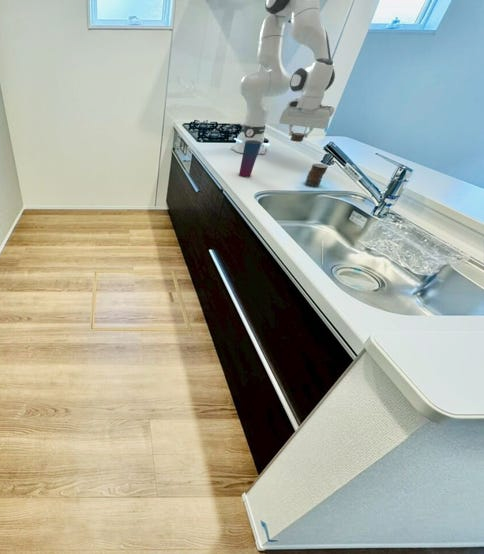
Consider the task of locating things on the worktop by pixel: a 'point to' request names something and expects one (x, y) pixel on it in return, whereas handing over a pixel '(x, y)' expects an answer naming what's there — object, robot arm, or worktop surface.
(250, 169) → the cup
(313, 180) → the dark brown cylindrical piece
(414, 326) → the worktop surface
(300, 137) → the brown short cylinder
